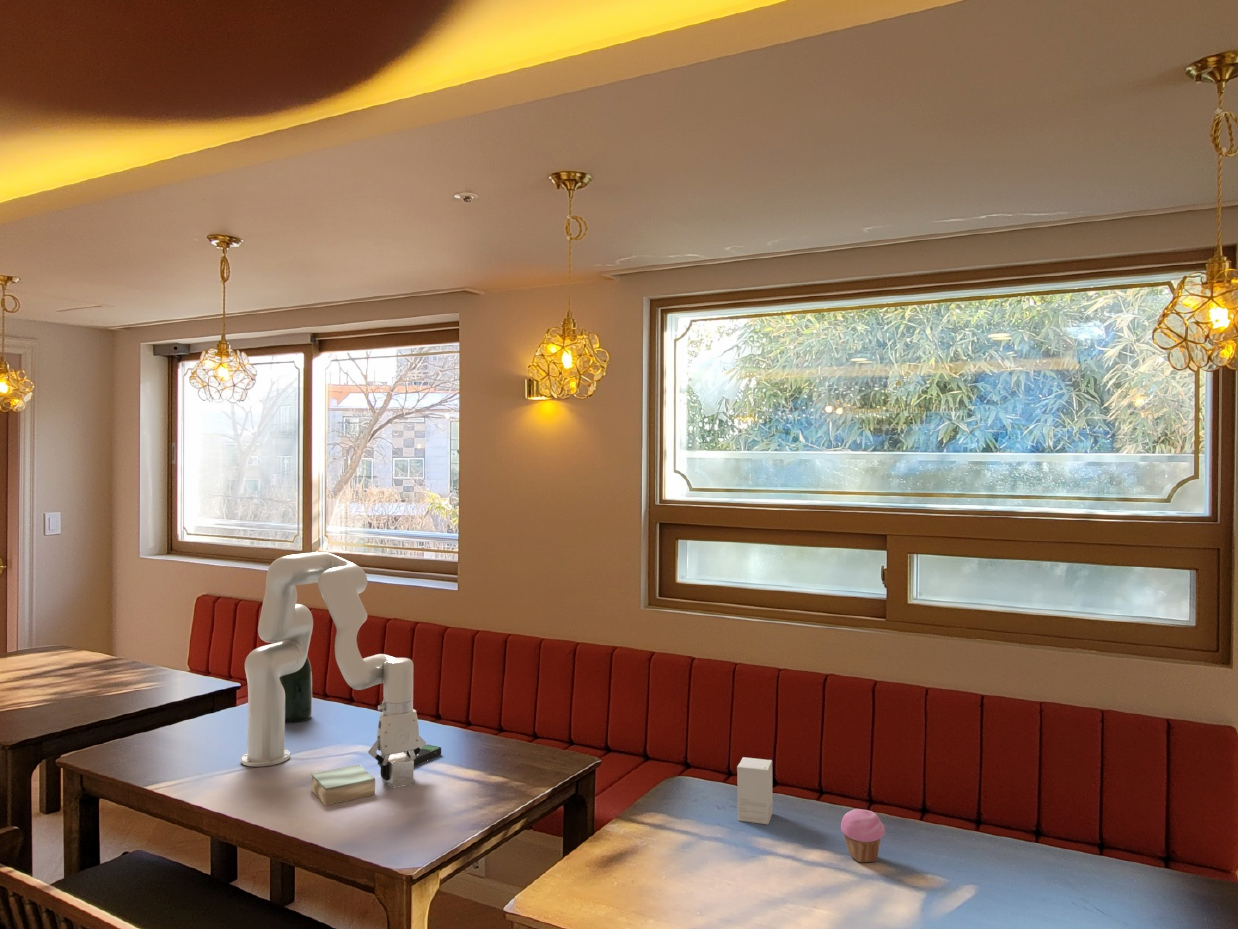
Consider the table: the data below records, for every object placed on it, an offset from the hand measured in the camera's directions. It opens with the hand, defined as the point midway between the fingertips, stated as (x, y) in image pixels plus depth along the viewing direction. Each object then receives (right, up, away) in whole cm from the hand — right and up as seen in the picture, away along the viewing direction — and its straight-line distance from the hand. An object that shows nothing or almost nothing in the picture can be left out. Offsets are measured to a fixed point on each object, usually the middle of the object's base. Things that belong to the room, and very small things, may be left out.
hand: (397, 776), depth 214 cm
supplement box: (+90, -2, -21) cm, 92 cm away
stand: (-11, -1, -8) cm, 14 cm away
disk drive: (-1, -2, +16) cm, 17 cm away
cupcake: (+109, -2, -42) cm, 116 cm away
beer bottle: (-48, -2, +54) cm, 72 cm away
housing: (0, -1, 0) cm, 1 cm away
